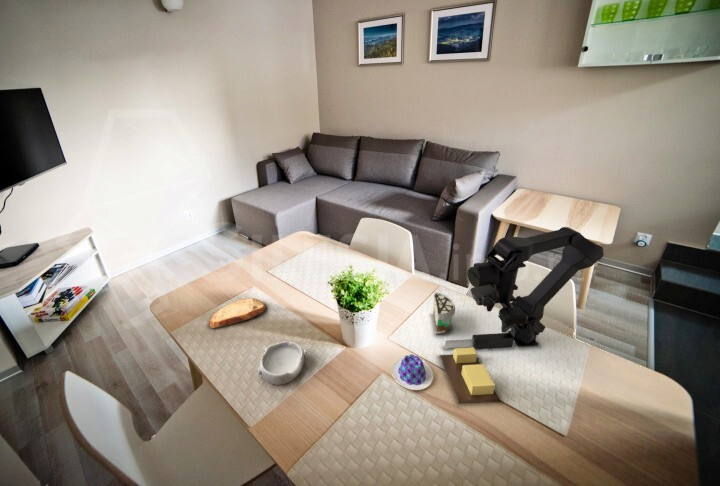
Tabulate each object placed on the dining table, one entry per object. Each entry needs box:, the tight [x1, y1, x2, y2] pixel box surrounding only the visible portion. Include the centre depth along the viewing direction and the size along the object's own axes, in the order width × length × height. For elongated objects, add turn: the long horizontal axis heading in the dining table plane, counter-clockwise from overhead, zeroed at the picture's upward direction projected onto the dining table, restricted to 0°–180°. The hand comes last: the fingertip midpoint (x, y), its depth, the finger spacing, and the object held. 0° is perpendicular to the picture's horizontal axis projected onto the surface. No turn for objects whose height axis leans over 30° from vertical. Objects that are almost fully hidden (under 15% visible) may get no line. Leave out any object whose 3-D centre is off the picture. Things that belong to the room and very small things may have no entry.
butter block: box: [461, 363, 496, 395], centre depth 92 cm, size 6×7×4 cm
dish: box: [257, 340, 308, 385], centre depth 103 cm, size 14×14×5 cm
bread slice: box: [209, 297, 267, 329], centre depth 128 cm, size 18×18×4 cm
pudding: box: [391, 354, 434, 391], centre depth 97 cm, size 12×12×5 cm
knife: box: [444, 332, 515, 351], centre depth 105 cm, size 21×2×4 cm, turn 90°
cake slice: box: [432, 292, 456, 336], centre depth 113 cm, size 12×6×10 cm, turn 168°
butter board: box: [439, 354, 500, 404], centre depth 96 cm, size 11×16×1 cm
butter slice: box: [452, 347, 478, 363], centre depth 100 cm, size 6×2×4 cm, turn 90°
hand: (495, 321), depth 101 cm, fingers open, 9 cm apart
